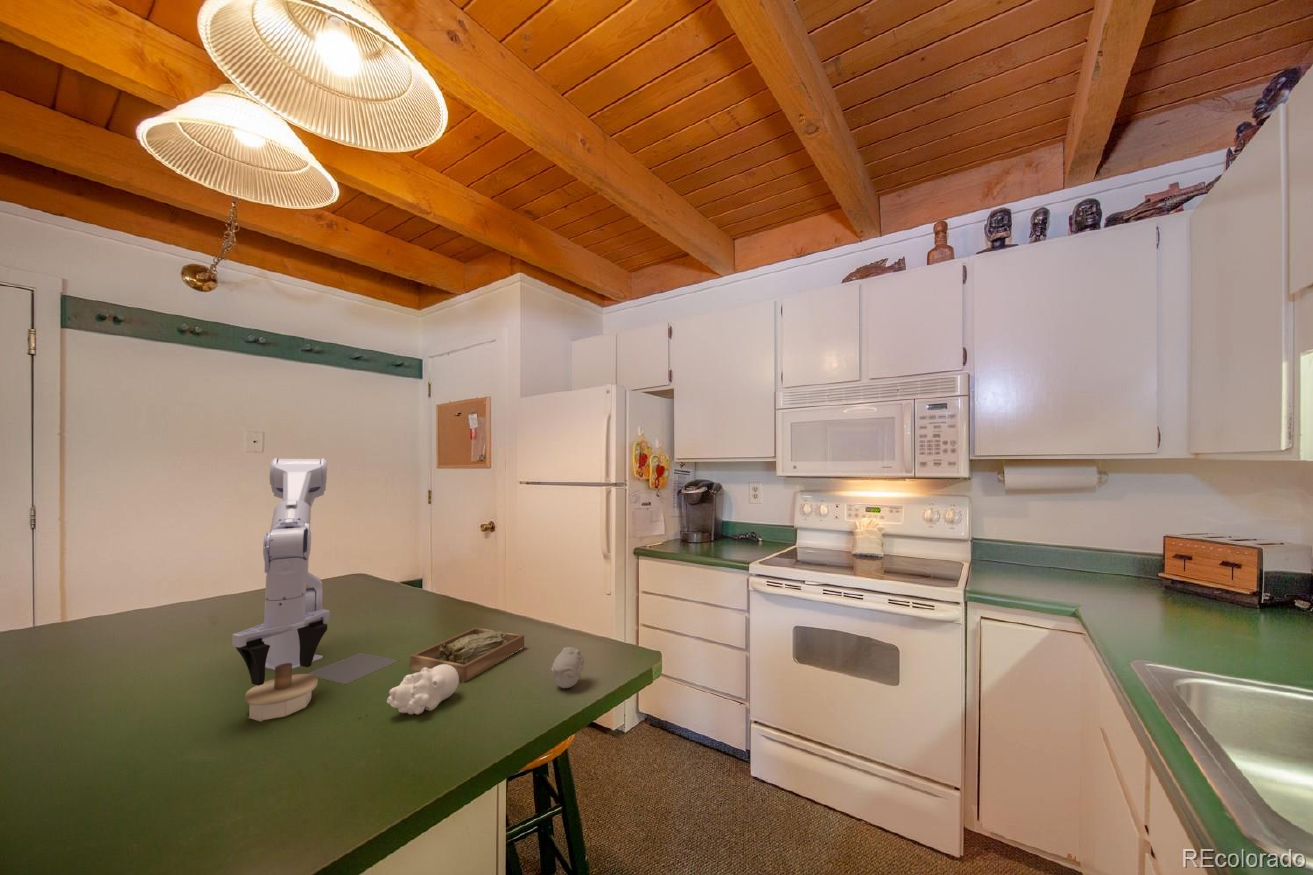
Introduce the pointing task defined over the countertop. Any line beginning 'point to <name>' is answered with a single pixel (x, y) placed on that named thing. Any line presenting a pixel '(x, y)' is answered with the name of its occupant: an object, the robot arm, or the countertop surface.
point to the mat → (352, 668)
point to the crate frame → (473, 667)
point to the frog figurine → (567, 667)
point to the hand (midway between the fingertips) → (282, 674)
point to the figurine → (424, 689)
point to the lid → (281, 687)
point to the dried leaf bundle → (471, 647)
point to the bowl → (278, 708)
